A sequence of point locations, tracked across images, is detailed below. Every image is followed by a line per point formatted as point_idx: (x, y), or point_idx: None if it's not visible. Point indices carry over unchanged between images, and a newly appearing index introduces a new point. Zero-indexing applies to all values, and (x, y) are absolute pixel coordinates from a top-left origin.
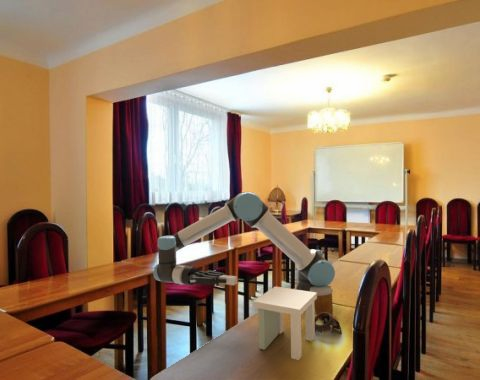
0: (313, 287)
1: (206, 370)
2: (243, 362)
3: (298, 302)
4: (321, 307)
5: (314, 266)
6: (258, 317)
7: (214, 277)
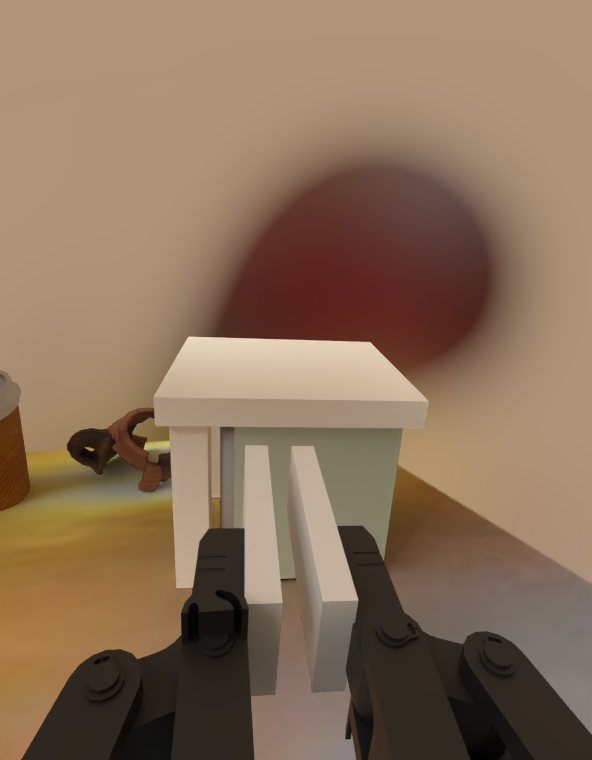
0: None
1: None
2: (493, 579)
3: (317, 346)
4: (21, 450)
5: None
6: (397, 462)
7: (436, 671)
